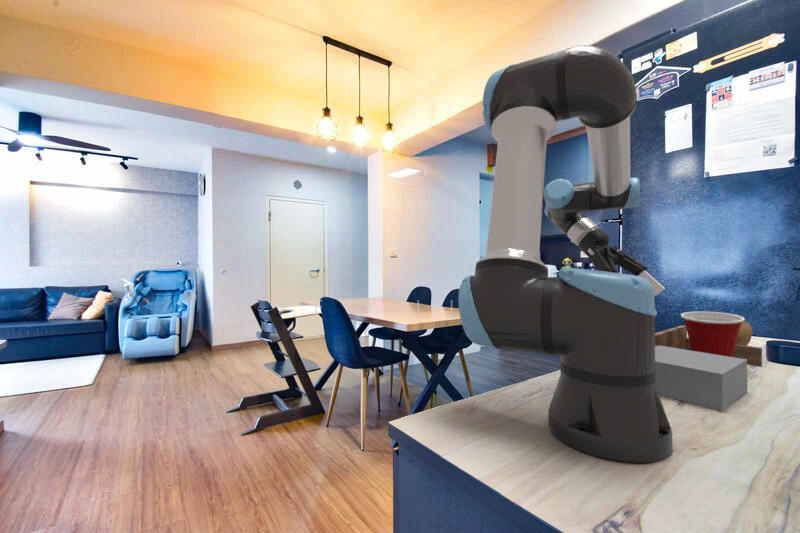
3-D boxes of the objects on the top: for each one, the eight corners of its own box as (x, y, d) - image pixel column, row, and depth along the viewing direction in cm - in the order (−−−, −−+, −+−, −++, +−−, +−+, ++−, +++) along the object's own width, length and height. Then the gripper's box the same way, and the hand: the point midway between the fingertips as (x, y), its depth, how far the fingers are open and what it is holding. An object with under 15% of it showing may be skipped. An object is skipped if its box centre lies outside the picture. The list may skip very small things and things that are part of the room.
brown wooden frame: (731, 386, 69) (731, 349, 69) (643, 367, 81) (642, 336, 81) (762, 365, 82) (762, 334, 81) (681, 352, 94) (681, 325, 94)
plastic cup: (676, 368, 80) (676, 315, 80) (684, 358, 88) (684, 309, 88) (743, 379, 73) (743, 320, 72) (746, 367, 80) (746, 314, 80)
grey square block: (722, 411, 58) (722, 374, 58) (627, 386, 69) (627, 355, 69) (747, 392, 66) (747, 359, 66) (658, 373, 77) (658, 345, 77)
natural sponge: (702, 353, 92) (702, 315, 92) (706, 347, 98) (706, 311, 98) (751, 360, 85) (751, 318, 85) (753, 353, 92) (753, 314, 91)
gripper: (601, 247, 111) (657, 299, 99) (554, 247, 97) (613, 307, 85) (619, 228, 107) (681, 281, 95) (573, 225, 93) (637, 286, 81)
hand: (649, 294), depth 90 cm, fingers open, 13 cm apart
